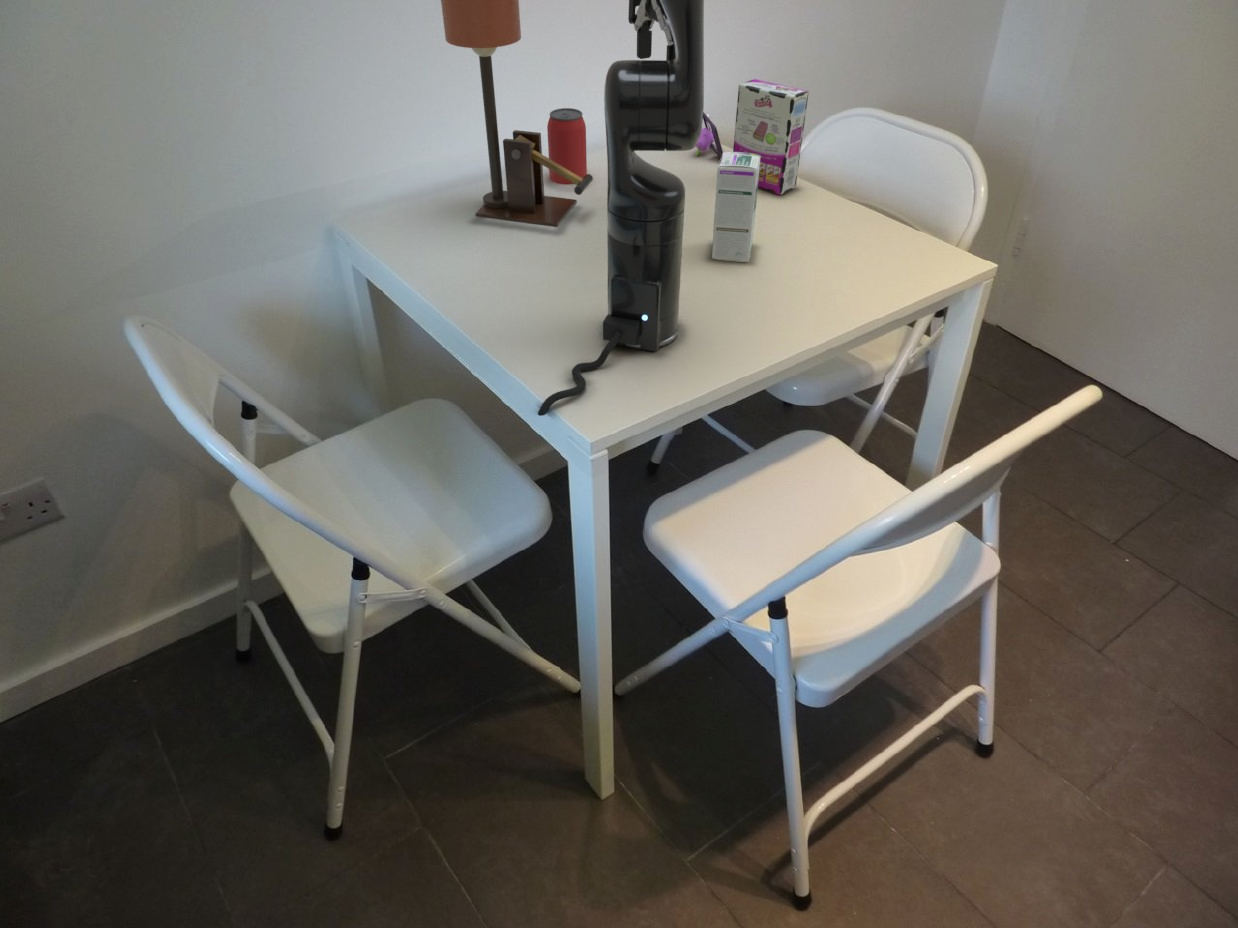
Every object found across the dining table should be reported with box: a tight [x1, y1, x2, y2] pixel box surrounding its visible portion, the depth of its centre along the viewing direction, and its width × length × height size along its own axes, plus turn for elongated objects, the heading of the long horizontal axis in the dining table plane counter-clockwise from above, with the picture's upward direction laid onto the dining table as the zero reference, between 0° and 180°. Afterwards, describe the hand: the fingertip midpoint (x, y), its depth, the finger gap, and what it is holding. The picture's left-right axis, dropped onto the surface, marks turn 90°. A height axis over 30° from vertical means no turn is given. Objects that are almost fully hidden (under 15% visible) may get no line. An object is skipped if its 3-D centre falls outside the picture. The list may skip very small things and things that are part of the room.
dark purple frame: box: [695, 111, 724, 159], centre depth 159 cm, size 7×5×9 cm
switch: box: [515, 135, 594, 196], centre depth 132 cm, size 13×6×2 cm, turn 76°
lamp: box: [440, 0, 522, 209], centre depth 129 cm, size 11×11×32 cm
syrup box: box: [711, 151, 760, 263], centre depth 124 cm, size 6×6×14 cm
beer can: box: [546, 107, 588, 185], centre depth 146 cm, size 7×7×12 cm
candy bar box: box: [732, 78, 810, 196], centre depth 144 cm, size 11×5×16 cm, turn 48°
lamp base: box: [475, 129, 578, 228], centre depth 135 cm, size 14×10×13 cm
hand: (658, 65), depth 126 cm, fingers open, 8 cm apart
